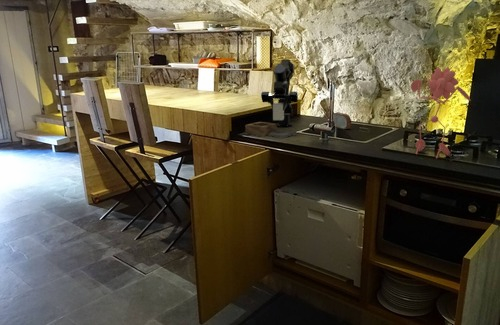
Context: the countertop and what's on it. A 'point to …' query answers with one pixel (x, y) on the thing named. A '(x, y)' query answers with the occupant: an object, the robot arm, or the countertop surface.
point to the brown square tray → (260, 128)
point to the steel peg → (278, 111)
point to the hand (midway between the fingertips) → (278, 109)
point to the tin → (342, 120)
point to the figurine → (439, 86)
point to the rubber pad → (281, 133)
